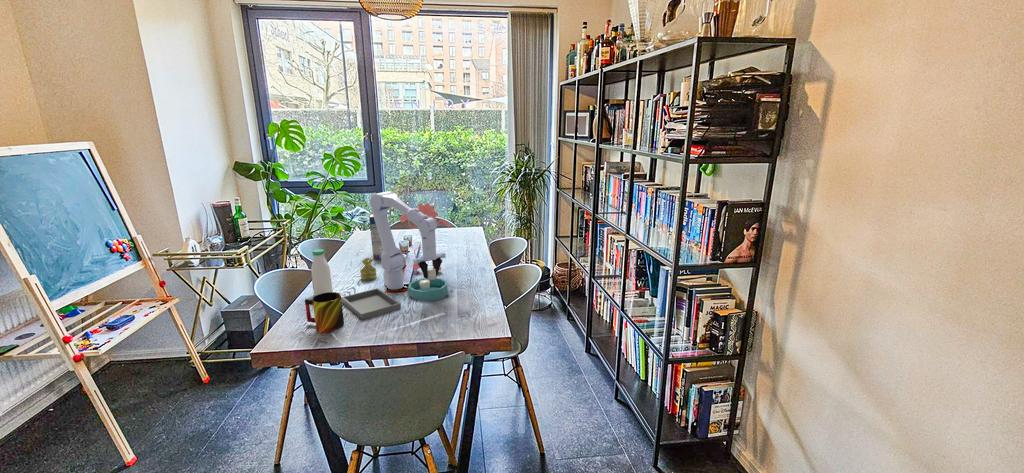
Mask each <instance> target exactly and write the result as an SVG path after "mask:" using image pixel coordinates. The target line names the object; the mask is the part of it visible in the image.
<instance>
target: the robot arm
mask: <svg viewBox="0 0 1024 473" xmlns="http://www.w3.org/2000/svg"><path fill="white" fill-rule="evenodd" d="M369 203H370V206H371V214H372V213H373V217H374V220H375V223H376V226H377V230H378V233H379V236H380V239H381V243H382V246H383V249H384V251H383V253H382V255H381V259H380V260H381V261H380V264H381V267H382V269H383V270H384V271H383V283H384V286H385V287H386V288H387V289H389V290H401V289H403V287H404V288H406V289H408V286H406V285H405V284H404V274H403V269H404V266H405V264H406V257H405V256H404V254H403V252H402V250H401V249H400V248H398V247H397V246H396V242H395V239H394V236H393V232H392V229H391V226H390V223H389V219H388V216H387V213H388V210H389V209H390V208H394V209H396V210H397V211H399V212H401V213H402V214H406V216H407V221H408V220H409V222H411V223H412V224H414V225H415V226H416V227H417V228H418V230H419V232H420V236H421V245H422V246H421V247H422V248H421V249H422V255H421V256H419V257H416V258H413V259H412V261H413V262H412V263H413V264H418V265H419V267H420V268H419V269H420V270H421V273H422V275H423V276H422V277H423V278H426V279H427V278H428V273H427V269H428V267H429V264H428V263H427V262H429V261H430V262H431V261H432V262H431V263H433V266H432V268H435V269H436V277H438V276H439V272H440V271H439V268H440V267H441V266H442V263H443V259H446V258H447V256H446V255H447V254H446V253H445V252H437V242H436V239H437V238H436V230H437V228H438V226H439V224H438V220H437V221H436V219H437V218H436V219H435V218H434V217H428V216H427V215H424V214H423V213H422V212H420V211H419V209H418V207H412V208H411V207H410V206H409V205H408V204H407V203H405V202H404V201H403V200H401V198H399V197H398V194H397V193H395V192H394V191H392V190H387V191H383V192H378V193H372V195H371V196H370V199H369ZM404 285H405V286H404Z"/></svg>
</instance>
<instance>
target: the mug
mask: <svg viewBox="0 0 1024 473" xmlns="http://www.w3.org/2000/svg"><path fill="white" fill-rule="evenodd" d="M341 297H342V295H341V293H339V292H335V291H334V292H328V293H322V294H319V295H317V296H315V295H314V296H313V297H312V299H309V298H306V299H304V305H305V306H304V307H305V311H306V312H305V314H306V321H307V323H313V324H314V323H315V329H316V330H315V331H316V332H317V333H319V334H332V333H333V331H335V330H338V329H340V328H342V327H343V326H344V325H345V320H344V312H343V311H344V310H343V303H342V300H341ZM310 305H311V306H312V307H313V308H312V309H313V313H314V314H313V315H314V317H312V315H311V307H310Z"/></svg>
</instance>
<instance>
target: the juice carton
mask: <svg viewBox="0 0 1024 473" xmlns="http://www.w3.org/2000/svg"><path fill="white" fill-rule="evenodd" d="M368 219H369V227H370V228H369V229H370V238H371V247H372V248H371V250H372V260H381V255H382V253H383V251H384V249H383V246H382V243H381V239H380V236H379V233H378V230H377V226H376V223H375V220H374V217H373V213H372V212H371V214H370V215H369V218H368Z"/></svg>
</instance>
